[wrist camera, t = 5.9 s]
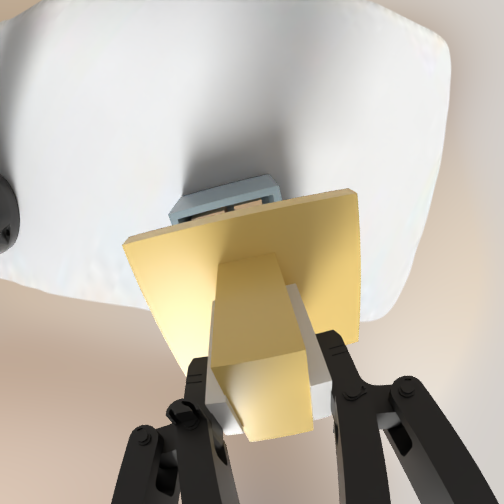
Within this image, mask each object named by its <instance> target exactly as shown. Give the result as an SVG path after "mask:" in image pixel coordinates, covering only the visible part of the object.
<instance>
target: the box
mask: <svg viewBox="0 0 504 504" xmlns="http://www.w3.org/2000/svg"><path fill="white" fill-rule="evenodd" d="M277 201H282V198H281V193H280V188H279V185H278V184H277V183H276V182H275V180H274V179H273V178H272V177H271V176H270V175H269V174H266V175H262V176H257V177H253V178H249V179H245V180H241V181H237V182H233V183H229V184H225V185H221V186H218V187H214V188H210V189H207V190H203V191H199V192H196V193H192V194H189V195H186V196H182V197H181V198H180V199H179V200H178V202H177V203H176V204H175V206H174V207H173V209H172V210H171V211H170V213H169V214H168V215H169V218H170V221H171V224H172V225H176V224H180V223H184V222H188V221H192V220H196V219H200V218H205V217H209V216H213V215H217V214H222V213H226V212H230V211H235V210H239V209H244V208H249V207H253V206H258V205H263V204H267V203H272V202H277Z"/></svg>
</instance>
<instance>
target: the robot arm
mask: <svg viewBox="0 0 504 504" xmlns="http://www.w3.org/2000/svg"><path fill="white" fill-rule="evenodd" d="M18 232H19V211H18V206H17V202H16V198H15V196H14V193H13V191H12V189H11V187H10V185H9V184H8V182H7V181H6V180H5V179H4V178H3V177H2V176H1V175H0V254H1V253H3V252H5V251H6V250H8V249H9V248H10V247H12V246H13V245H14V243H15V241H16V239H17V236H18ZM286 288H287V291H288V295H289V298H290V301H291V304H292V307H293V310H294V313H295V316H296V319H297V323H298V326H299V329H300V332H301V335H302V338H303V342H304V345H305V348H306V354H307V363H308V373H309V385H310V395H311V406H312V416H313V420H317V419H321V418H325V417H329V416H331V412H332V415H333V418H334V429H333V433H335V442H336V443H335V444H336V455H337V466H338V481H339V501H340V504H391V501H390V493H389V485H388V478H387V472H386V465H385V459H384V454H383V448H382V443H381V438H380V433H379V429H383V431H384V433H385V435H386V436H387V438H388V440H389V442H390V444H391V446H392V448H393V449H394V451H395V454H396V455H397V457H398V459H399V461H400V463H401V465H402V467H403V469H404V471H405V473H406V475H407V477H408V479H409V481H410V482H411V485H412V487H413V488H414V491H415V493H416V495H417V496H418V499H419V500H420V503H421V504H499V503H498V502H497V500H496V498H495V496H494V494H493V492H492V490H491V489H490V487H489V485H488V483H487V481H486V480H485V478H484V476H483V475H482V473H481V471H480V469H479V468H478V466H477V464H476V463H475V461H474V460H473V458H472V456H471V455H470V453H469V451H468V450H467V449H466V447H465V445H464V444H463V442H462V441H461V439H460V437H459V436H458V435H457V433H456V431H455V430H454V428H453V427H452V425H451V424H450V422H449V421H448V420H447V418H446V416H445V415H444V414H443V412H442V411H441V409H440V408H439V406H438V405H437V404H436V402H435V401H434V399H433V398H432V396H431V395H430V394H429V392H428V391H427V389H426V388H425V387H424V385H423V384H422V383H421V382H420V381H419V380H418V379H417V378H415V377H413V376H403V377H399V378H398V379H397V380H395V381H394V383H393V384H392V385H380V386H379V385H371V384H368V383H366V382H365V381H363V380H362V379H361V377H360V376H359V374H358V371H357V369H356V367H355V365H354V362H353V360H352V358H351V356H350V354H349V352H348V350H347V347H346V346H345V343H344V341H343V339H342V337H341V335H340V334H338V333H337V332H336V331H335V330H329V331H326V332H322V333H318V334H315V332H314V330H313V327H312V324H311V322H310V319H309V316H308V314H307V311H306V309H305V306H304V303H303V301H302V298H301V295H300V293H299V290H298V288H297V285H296V283H294V284H290V285H286ZM214 308H215V300H214V301H213V302H212V313H211V325H210V337H209V350H208V356H206V357H198V358H193V359H192V361H191V363H190V364H189V366H188V371H187V379H186V386H185V394H184V399H179V400H176V401H174V402H173V403H172V404H171V405H170V406H169V407H168V409H167V411H166V416H167V417H168V418H169V419H170V421H171V422H172V424H170V425H167V426H164V427H161V428H158V429H155V428H153V427H152V426H149V425H141V426H139V427H137V428H135V429H134V430H133V431H132V433H131V435H130V437H129V441H128V444H127V447H126V451H125V454H124V458H123V461H122V464H121V468H120V472H119V475H118V479H117V483H116V486H115V490H114V494H113V498H112V502H111V504H178V501H179V494H180V492H181V499H182V504H240V503H239V499H238V495H237V491H236V487H235V482H234V478H233V474H232V470H231V465H230V461H229V456H228V451H227V447H226V444H225V442H224V440H223V432H224V433H225V434H226V435H233V434H242V433H243V426H242V425H241V423H240V421H239V419H238V417H237V416H236V414H235V412H234V410H233V408H232V406H231V404H230V403H229V401H228V399H227V397H226V395H224V393H223V392H222V390H221V388H220V386H219V384H218V382H217V380H216V378H215V376H214V374H213V372H212V370H211V351H212V336H213V321H214Z"/></svg>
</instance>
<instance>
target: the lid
mask: <svg viewBox="0 0 504 504" xmlns="http://www.w3.org/2000/svg"><path fill="white" fill-rule="evenodd" d="M122 246H123V249H124V251H125V254H126V256H127V259H128V261H129V264H130V266H131V268H132V271H133V273H134V275H135V278H136V280H137V282H138V285H139V287H140V289H141V291H142V293H143V296H144V298H145V300H146V302H147V304H148V306H149V308H150V310H151V313H152V315H153V317H154V319H155V320H156V323H157V324H158V327H159V328H160V330H161V332H162V334H163V336H164V338H165V340H166V342H167V344H168V346H169V347H170V349H171V351H172V353H173V355H174V357H175V358H176V360H177V362H178V364H179V365H180V367H181V369H182V371H183V372H184V374H185V375H186V376H187V371H188V366H189V364H190V363H191V361H192V359H193V358H198V357H206V356H208V350H209V337H210V325H211V313H212V302H213V301H214V300H215V308H214V321H213V336H212V351H211V370H212V372H213V374H214V376H215V378H216V380H217V382H218V384H219V386H220V388H221V390H222V392H223V393H224V395H226V397H227V399H228V401H229V403H230V404H231V406H232V408H233V410H234V412H235V414H236V416H237V417H238V419H239V421H240V423H241V425H242V426H243V430H244V432H245V434H246V435H247V437H248V439H249V441H250V442H252V441H259V440H267V439H272V438H278V437H284V436H289V435H294V434H298V433H303V432H308V431H312V430H313V418H312V406H311V395H310V385H309V373H308V363H307V354H306V348H305V345H304V342H303V338H302V335H301V332H300V329H299V326H298V323H297V319H296V316H295V313H294V310H293V307H292V304H291V301H290V298H289V295H288V291H287V288H286V285H290V284H294V283H296V285H297V288H298V290H299V293H300V295H301V298H302V301H303V303H304V306H305V309H306V311H307V314H308V316H309V319H310V322H311V324H312V327H313V330H314V332H315V334H318V333H322V332H326V331H329V330H335V331H336V332H337V333H338V334H340V335H341V337H342V339H343V341H344V343H345V345H347V344H351V343H355V342H358V337H359V320H360V289H361V259H360V228H359V211H358V197H357V193H356V192H354V191H352V190H351V189H349V188H346V189H341V190H335V191H329V192H324V193H318V194H313V195H308V196H302V197H297V198H292V199H287V200H282V201H277V202H272V203H267V204H263V205H258V206H253V207H249V208H244V209H239V210H235V211H230V212H226V213H222V214H217V215H213V216H209V217H205V218H200V219H196V220H192V221H188V222H184V223H180V224H176V225H172V226H168V227H164V228H160V229H157V230H153V231H149V232H145V233H141V234H138V235H134V236H130V237H129V238H128V239H127V240H126V241H125V242H124V244H123V245H122Z"/></svg>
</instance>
